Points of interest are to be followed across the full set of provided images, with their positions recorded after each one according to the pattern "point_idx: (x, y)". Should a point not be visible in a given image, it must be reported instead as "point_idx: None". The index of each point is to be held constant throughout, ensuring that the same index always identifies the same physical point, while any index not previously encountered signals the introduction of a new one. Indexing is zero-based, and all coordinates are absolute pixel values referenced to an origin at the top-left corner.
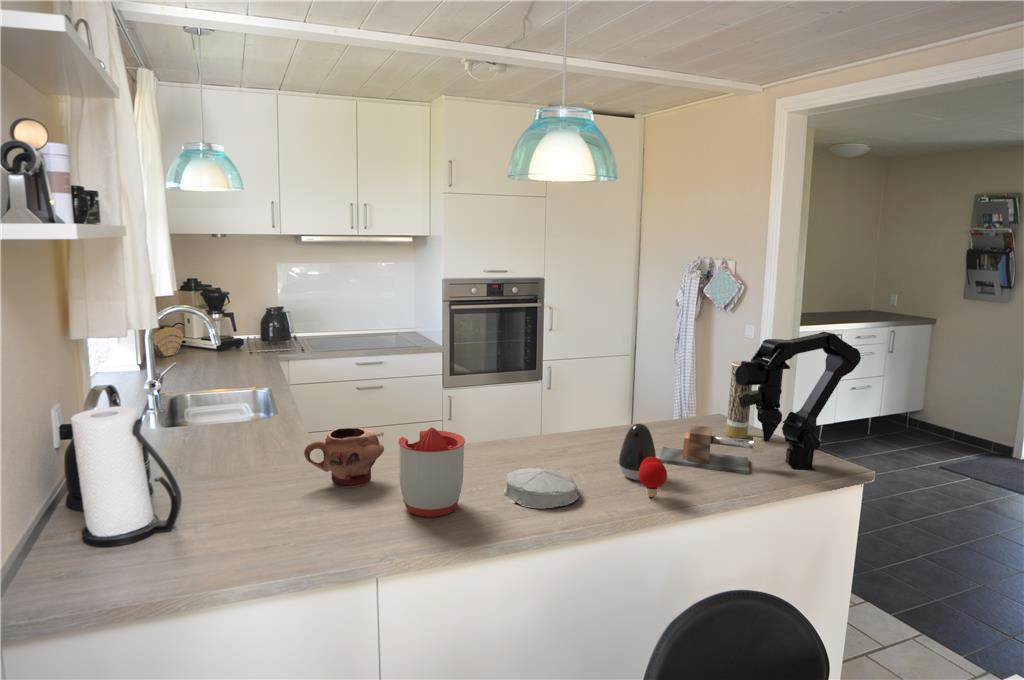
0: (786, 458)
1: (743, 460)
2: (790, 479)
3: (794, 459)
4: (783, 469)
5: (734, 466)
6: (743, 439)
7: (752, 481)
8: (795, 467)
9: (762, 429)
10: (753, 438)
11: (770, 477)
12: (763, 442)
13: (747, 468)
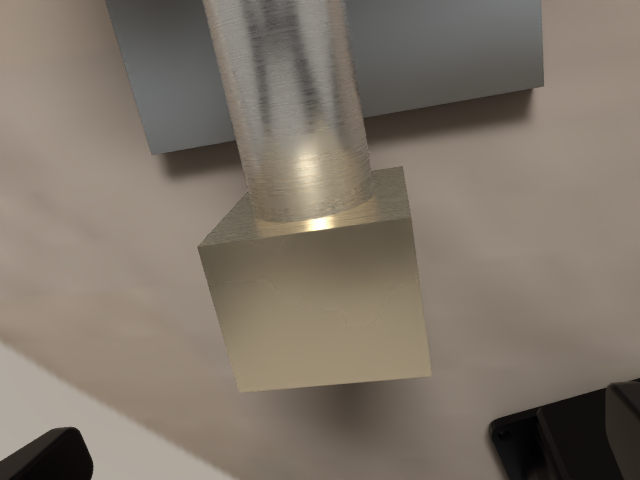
0: (602, 413)
1: (422, 58)
2: (251, 411)
3: (549, 476)
4: (444, 367)
5: (181, 10)
6: (277, 61)
7: (34, 197)
8: (495, 445)
9: (633, 412)
10: (313, 233)
11: (205, 300)
12: (236, 372)
13: (205, 133)
